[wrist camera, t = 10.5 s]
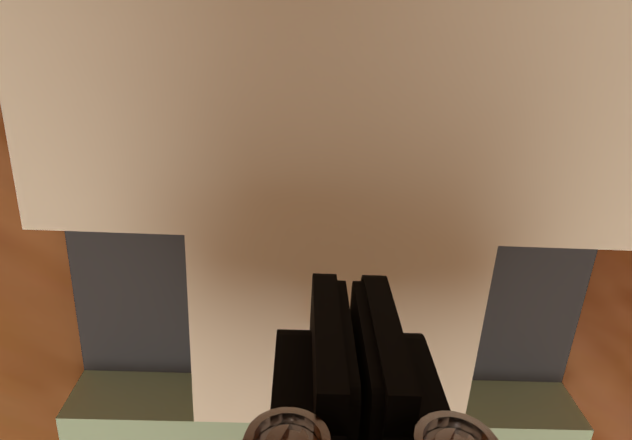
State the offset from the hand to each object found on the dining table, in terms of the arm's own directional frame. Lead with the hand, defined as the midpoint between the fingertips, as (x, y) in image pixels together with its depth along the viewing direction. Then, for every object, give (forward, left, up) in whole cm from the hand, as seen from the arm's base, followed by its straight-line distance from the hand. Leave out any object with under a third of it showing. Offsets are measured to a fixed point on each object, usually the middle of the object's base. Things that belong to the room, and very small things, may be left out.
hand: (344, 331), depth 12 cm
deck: (+2, 0, -5) cm, 5 cm away
